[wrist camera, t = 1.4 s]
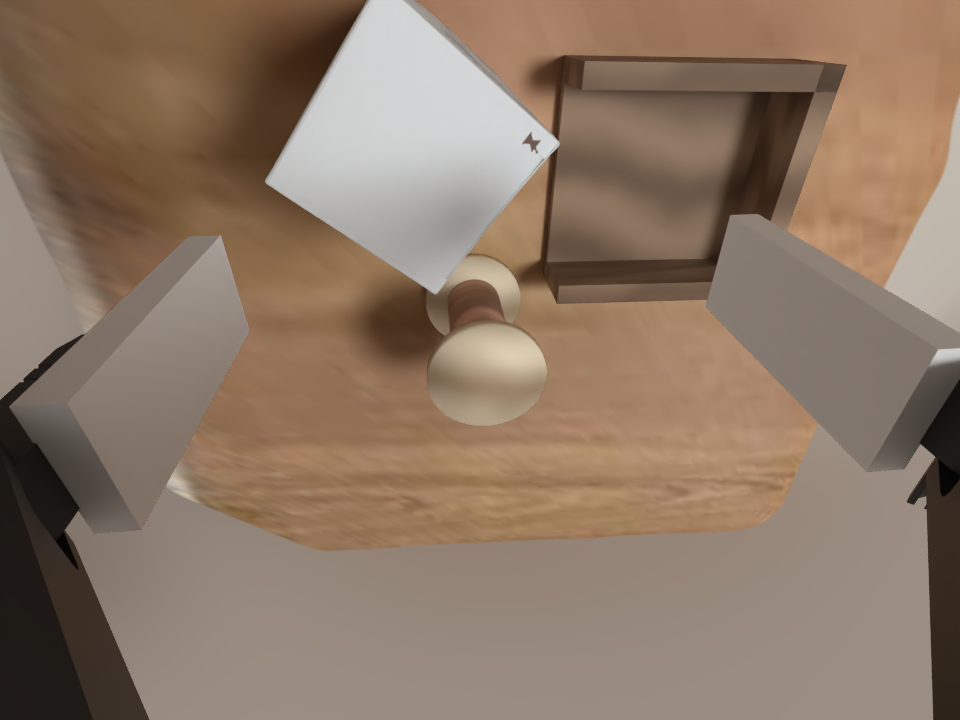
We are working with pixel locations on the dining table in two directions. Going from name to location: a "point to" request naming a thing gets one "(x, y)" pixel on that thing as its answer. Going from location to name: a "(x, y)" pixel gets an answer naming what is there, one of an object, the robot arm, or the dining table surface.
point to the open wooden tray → (673, 167)
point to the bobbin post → (482, 346)
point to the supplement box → (410, 143)
